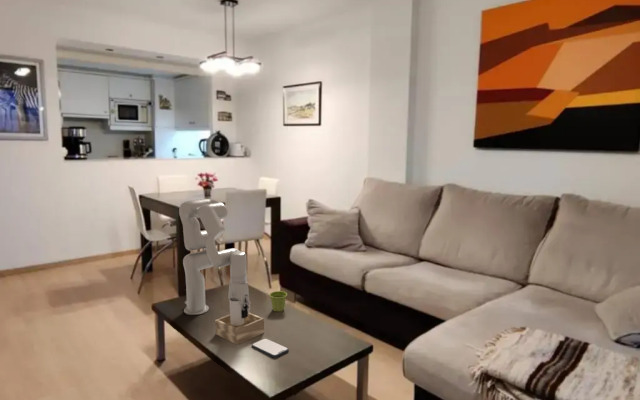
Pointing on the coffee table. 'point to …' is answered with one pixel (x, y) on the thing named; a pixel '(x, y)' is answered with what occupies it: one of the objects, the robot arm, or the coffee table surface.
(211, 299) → the coffee table surface
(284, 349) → the smartphone
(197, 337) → the coffee table surface
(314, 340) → the coffee table surface
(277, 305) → the plant pot
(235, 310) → the mug
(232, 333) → the open wooden crate
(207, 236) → the robot arm
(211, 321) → the coffee table surface
